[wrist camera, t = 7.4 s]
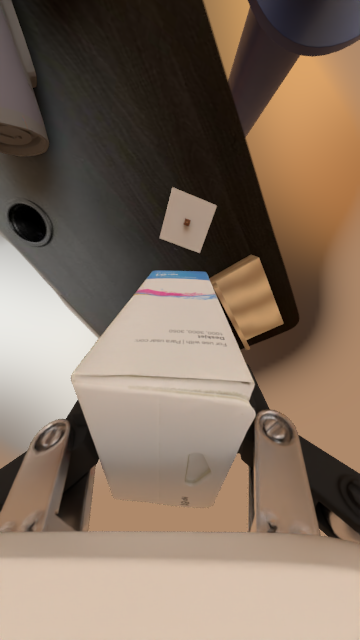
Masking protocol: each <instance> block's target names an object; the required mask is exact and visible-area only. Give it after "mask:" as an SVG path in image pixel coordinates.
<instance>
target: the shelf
mask: <svg viewBox="0 0 360 640" xmlns="http://www.w3.org/2000/svg"><path fill="white" fill-rule="evenodd" d="M209 280H210V282H211V284H212V286H213V288H214V290H215V292H216V294H217V295H218V297H219V299H220V301H221V303H222V305H223V307H224V309H225V311H226V312H227V314H228V316H229V318H230V320H231V322H232V324H233V326H234V328H235V330H236V331H237V333H238V335H239V337H240V339H241V341H242V343H243V345H244V347H245V348H246V350H248V349H250V347H249V345H248V343H247V341H246V340H247V339H250V338H252V337H254V336H256V335H259V334H261V333H263V332H265V331H268V330H270V329H272V328H274V327H277V326H279V325H281V324H283V321H282V318H281V315H280V313H279V310H278V307H277V305H276V302H275V299H274V296H273V294H272V291H271V288H270V286H269V283H268V280H267V278H266V275H265V272H264V270H263V267H262V264H261V262H260V259H259V257H256V256H253V255H249V256H248V257H246V258H244V259H242V260H241V261H239V262H237V263H235V264H234V265H232V266H230V267H228V268H227V269H225V270H223V271H221V272H220V273H218V274H216V275H214V276H213V277H211V278H209Z"/></svg>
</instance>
